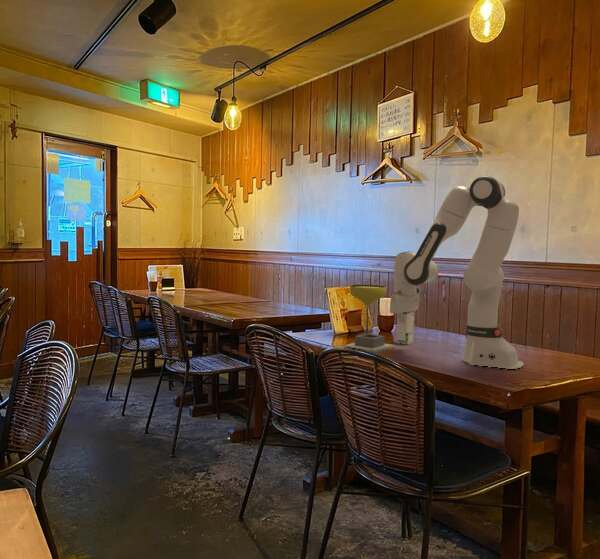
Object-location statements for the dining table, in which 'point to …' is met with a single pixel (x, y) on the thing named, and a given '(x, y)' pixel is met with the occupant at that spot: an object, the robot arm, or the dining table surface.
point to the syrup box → (406, 335)
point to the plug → (405, 323)
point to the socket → (370, 343)
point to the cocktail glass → (367, 296)
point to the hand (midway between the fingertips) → (404, 322)
